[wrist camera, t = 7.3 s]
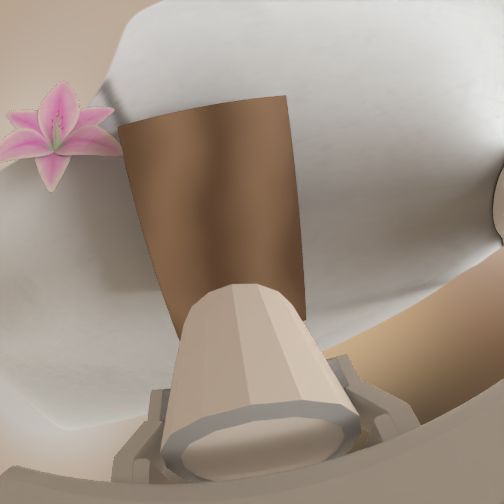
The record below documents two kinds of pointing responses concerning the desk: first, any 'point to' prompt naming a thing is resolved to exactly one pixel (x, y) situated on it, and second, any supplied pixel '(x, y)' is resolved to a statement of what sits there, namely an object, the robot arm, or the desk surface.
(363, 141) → the desk surface
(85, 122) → the lily
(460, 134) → the desk surface
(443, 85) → the desk surface
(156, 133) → the walnut shelf
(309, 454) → the cream tapered cup
